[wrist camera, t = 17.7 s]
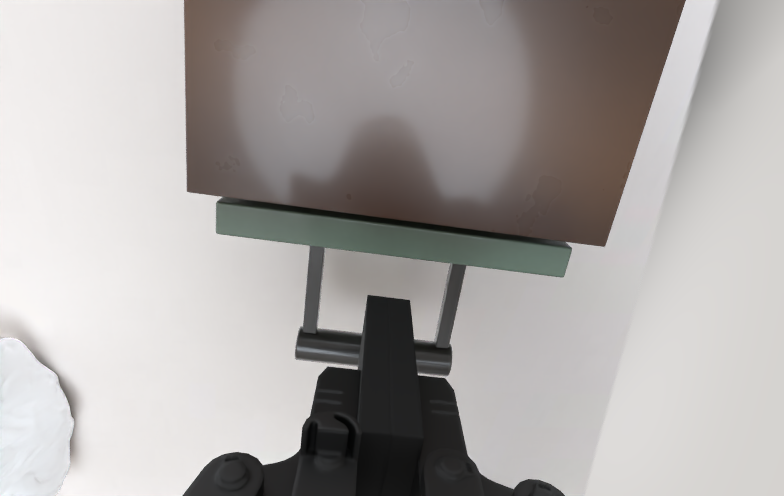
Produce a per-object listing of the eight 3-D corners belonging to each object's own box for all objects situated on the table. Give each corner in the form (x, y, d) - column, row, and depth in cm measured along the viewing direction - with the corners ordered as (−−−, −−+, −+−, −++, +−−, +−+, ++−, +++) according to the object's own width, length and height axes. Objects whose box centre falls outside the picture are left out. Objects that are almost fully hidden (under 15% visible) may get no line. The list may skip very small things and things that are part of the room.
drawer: (483, 325, 27) (520, 424, 20) (261, 299, 26) (213, 391, 19) (593, -126, 20) (719, -237, 12) (284, -182, 19) (219, -337, 11)
